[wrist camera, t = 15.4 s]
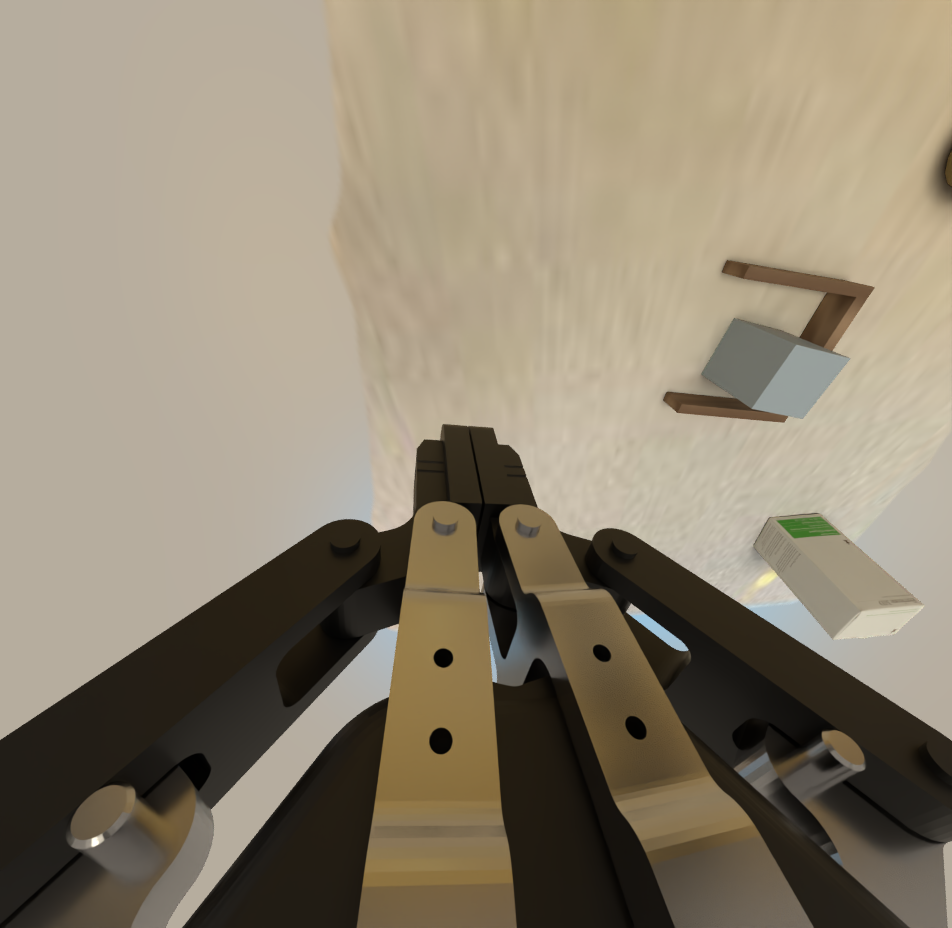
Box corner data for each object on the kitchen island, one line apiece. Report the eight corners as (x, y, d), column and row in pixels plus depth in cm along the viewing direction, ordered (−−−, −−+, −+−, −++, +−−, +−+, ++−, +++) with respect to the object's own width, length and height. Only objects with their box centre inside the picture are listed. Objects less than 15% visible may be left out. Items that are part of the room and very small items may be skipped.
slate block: (733, 317, 39) (796, 344, 33) (781, 330, 40) (850, 358, 34) (700, 374, 42) (751, 408, 36) (746, 384, 44) (802, 418, 37)
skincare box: (819, 512, 58) (931, 603, 45) (799, 543, 62) (896, 636, 49) (766, 517, 57) (864, 611, 44) (748, 548, 61) (834, 643, 48)
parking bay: (727, 260, 36) (749, 265, 33) (845, 280, 38) (874, 287, 36) (663, 400, 44) (677, 412, 41) (764, 409, 46) (784, 422, 43)
